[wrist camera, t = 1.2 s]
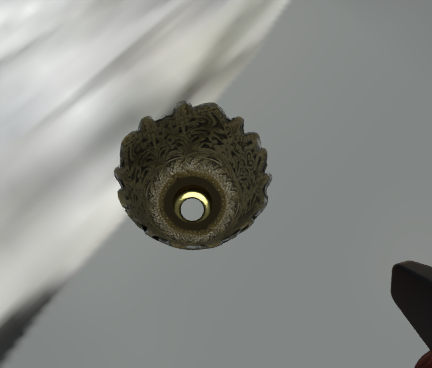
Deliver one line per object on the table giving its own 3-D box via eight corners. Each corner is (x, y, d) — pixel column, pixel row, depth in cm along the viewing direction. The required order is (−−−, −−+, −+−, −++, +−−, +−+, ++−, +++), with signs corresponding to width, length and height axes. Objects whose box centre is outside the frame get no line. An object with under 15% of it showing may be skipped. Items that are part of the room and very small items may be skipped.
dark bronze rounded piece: (164, 283, 21) (152, 278, 14) (121, 186, 23) (90, 134, 16) (263, 233, 23) (301, 204, 15) (215, 146, 25) (228, 81, 17)
